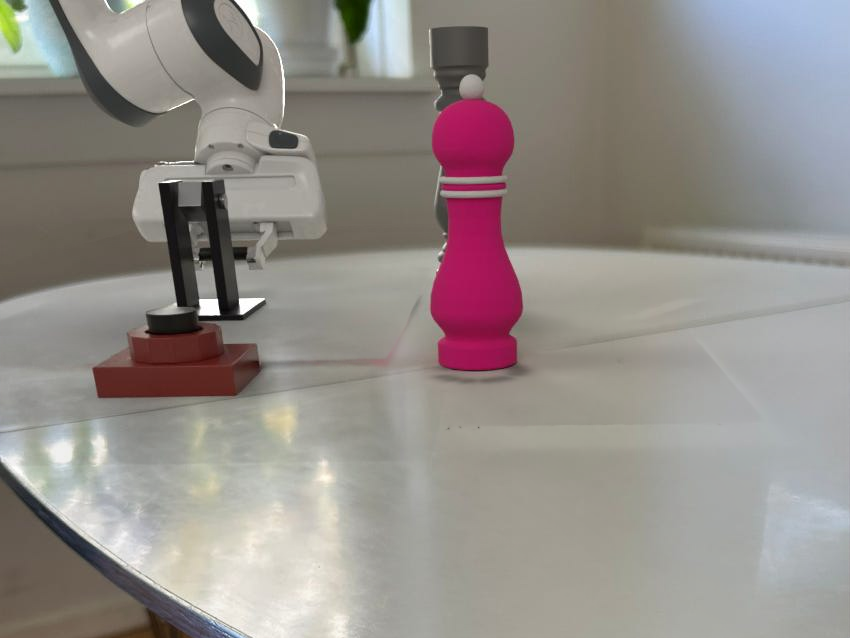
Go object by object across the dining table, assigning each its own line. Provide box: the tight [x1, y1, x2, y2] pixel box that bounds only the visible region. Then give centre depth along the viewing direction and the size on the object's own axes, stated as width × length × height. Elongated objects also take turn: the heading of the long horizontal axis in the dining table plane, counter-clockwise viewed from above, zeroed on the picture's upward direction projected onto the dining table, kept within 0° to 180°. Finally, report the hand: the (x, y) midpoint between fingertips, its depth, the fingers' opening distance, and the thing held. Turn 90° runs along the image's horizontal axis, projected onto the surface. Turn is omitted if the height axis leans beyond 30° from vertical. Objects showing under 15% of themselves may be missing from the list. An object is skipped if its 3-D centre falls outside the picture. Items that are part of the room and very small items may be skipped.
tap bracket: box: [158, 179, 267, 322], centre depth 96 cm, size 10×9×13 cm
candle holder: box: [428, 25, 490, 276], centre depth 100 cm, size 6×6×25 cm
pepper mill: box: [429, 74, 524, 371], centre depth 75 cm, size 7×7×20 cm
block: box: [91, 321, 261, 399], centre depth 74 cm, size 10×8×4 cm
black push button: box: [145, 306, 200, 335], centre depth 73 cm, size 4×4×2 cm
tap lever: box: [178, 182, 248, 262], centre depth 98 cm, size 12×5×2 cm
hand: (225, 266), depth 104 cm, fingers closed on tap lever, 5 cm apart
